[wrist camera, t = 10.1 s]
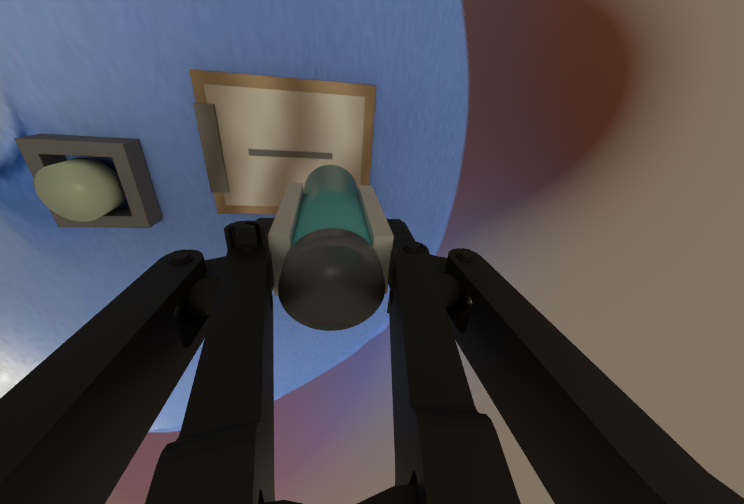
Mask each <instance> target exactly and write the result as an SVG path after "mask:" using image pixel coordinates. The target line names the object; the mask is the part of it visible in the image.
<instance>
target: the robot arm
mask: <svg viewBox="0 0 744 504" xmlns="http://www.w3.org/2000/svg"><path fill="white" fill-rule="evenodd" d="M358 195H359V198H360V202H361V206H362V209H363V213H364V216H365V220H366V224H367V227H368V231H369V234H370V238H371V242H372V245H373V248H374V249H375V251H376V253H377V255H378V258H379V261H380V264H381V268H382V271H383V274H384V278H385V293H387V288H388V284H389V287H390V294H389V302H388V309H387V313H389V316H390V339H391V340H390V342H391V366H392V367H391V368H392V394H393V420H394V447H395V486H393V487H391V488H389V489H387V490H385V491H383V492H380V493H378V494H376V495H375V496H372V497H370V498H368V499H366V500H364V501H362V502H360V503H357V504H521V503H520V500H519V498H518V495H517V492H516V489H515V486H514V483H513V480H512V477H511V474H510V471H509V468H508V465H507V462H506V459H505V456H504V453H503V450H502V447H501V444H500V441H499V438H498V435H497V433H496V430H495V427H494V425H493V423H492V421H491V419H490V418H489V417H488V416H487V415H486V414H481V413H479V412H478V411H477V410H476V407H475V405H474V402H473V398H472V395H471V392H470V388H469V385H468V382H467V378H466V375H465V372H464V368H463V365H462V361H461V358H460V355H459V351H458V348H457V345H456V342H457V343H458V345H459V346H460V348H461V350H462V352H463V353H464V355H465V356H466V358H467V360H468V361H469V363H470V365H471V366H472V368H473V370H474V371H475V373H476V375H477V376H478V378H479V379H480V381H481V383H482V384H483V386H484V388H485V389H486V391H487V393H488V394H489V396H490V398H491V399H492V401H493V403H494V404H495V406H496V408H497V409H498V411H499V412H500V414H501V416H502V417H503V419H504V420H505V422H506V424H507V426H508V427H509V429H510V431H511V432H512V434H513V435H514V437H515V439H516V440H517V442H518V444H519V445H520V447H521V449H522V450H523V452H524V454H525V455H526V457H527V459H528V460H529V462H530V463H531V465H532V467H533V468H534V470H535V471H536V473H537V475H538V477H539V478H540V480H541V482H542V483H543V485H544V487H545V488H546V490H547V492H548V493H549V495H550V496H551V498H552V500H553V501H554V503H555V504H744V498H742V497H741V496H739V495H738V494H737V493H735V492H734V491H733V490H731V489H730V488H728V487H727V486H726V485H724V484H723V483H722V482H720V481H719V480H718V479H716V478H715V477H713V476H712V475H711V474H709V473H708V472H707V471H706V470H705V469H703V467H701V466H700V465H699V464H698V463H697V462H696V461H695V460H694V459H693V458H692V457H691V456H690V455H689V454H688V453H687V452H686V451H685V450H684V449H683V448H681V446H680V445H678V444H677V443H676V442H675V441H674V440H673V439H672V438H671V437H670V436H669V435H668V434H667V433H666V432H665V431H664V430H663V429H662V428H661V427H660V426H659V425H658V424H656V423H655V422H654V421H653V420H652V419H651V418H650V417H649V416H648V415H647V414H646V413H645V412H644V411H643V410H642V409H641V408H639V406H638V405H637V404H635V403H634V402H633V401H632V400H631V399H630V398H629V397H628V396H627V395H626V394H625V393H624V392H623V391H622V390H621V389H620V388H619V387H618V386H617V385H615V384H614V383H613V382H612V381H611V380H610V379H609V378H608V377H607V376H606V375H605V374H604V373H603V372H602V371H601V370H600V369H599V368H598V367H597V366H596V365H595V364H594V363H592V362H591V361H590V360H589V359H588V358H587V357H586V356H585V355H584V354H583V353H582V352H581V351H580V350H579V349H578V348H577V347H576V346H575V345H574V344H572V343H571V342H570V341H569V340H568V339H567V338H566V337H565V336H564V335H563V334H562V333H561V332H560V331H559V330H558V329H557V328H556V327H555V326H554V325H553V324H552V323H550V322H549V321H548V320H547V319H546V318H545V317H544V316H543V315H542V314H541V313H540V312H539V311H538V310H537V309H536V308H535V307H534V306H533V305H532V304H531V303H529V302H528V301H527V300H526V299H525V298H524V297H523V296H522V295H521V294H520V293H519V292H518V291H517V290H516V289H515V288H514V287H513V286H512V285H511V284H509V282H507V281H506V280H505V279H504V278H503V277H502V276H501V275H500V274H499V273H498V272H497V271H496V270H495V269H494V268H493V267H492V266H491V265H489V263H488V262H487V261H485V260H484V259H483V258H482V257H481V256H480V255H478V254H477V253H475V252H473V251H471V250H469V249H464V248H462V249H452V250H451V251H449V254H448V258H444V257H438V256H434V255H430V254H429V250H428V248H427V247H426V246H425V245H423V244H422V243H419V242H416V241H415V240H414V238H413V236H412V234H411V233H410V231H409V229H408V227H407V225H406V224H405V223H404V222H402V221H401V220H399V219H386V217H385V215H384V213H383V210H382V208H381V206H380V203H379V201H378V199H377V197H376V194H375V192H374V190H373V187H372V185H359V187H358ZM302 197H303V183H289V184H288V186H287V189H286V191H285V194H284V196H283V199H282V201H281V204H280V206H279V209H278V211H277V214H276V216H275V218H259V219H257V220H256V221H239V222H235V223H231V224H229V225H227V226H226V227H225V228H224V233H225V238H226V243H227V248H228V251H227V255H226V256H224V257H220V258H215V259H209V260H204V257H203V254H202V253H201V252H199V251H197V250H179V251H174V252H172V253H170V254H167V255H165V256H164V257H162V258H160V259H159V260H158V261H157V262H156V263H155V264H154V265H152V266H151V267H150V268H149V269H148V270H147V271H146V272H144V273H143V274H142V275H141V276H140V277H139V278H138V279H136V280H135V281H134V282H133V283H132V284H131V285H130V286H128V287H127V288H126V289H125V290H124V291H123V292H122V293H120V294H119V295H118V296H117V297H116V298H115V299H114V300H112V301H111V302H110V303H109V304H108V305H107V306H106V307H104V308H103V309H102V310H101V311H100V312H99V313H98V314H96V315H95V316H94V317H93V318H92V319H91V320H90V321H88V322H87V323H86V324H85V325H84V326H83V327H82V328H80V329H79V330H78V331H77V332H76V333H75V334H74V335H72V336H71V337H70V338H69V339H68V340H67V341H66V342H64V343H63V344H62V345H61V346H60V347H59V348H58V349H56V350H55V351H54V352H53V353H52V354H51V355H50V356H48V357H47V358H46V359H45V360H44V361H43V362H42V363H40V364H39V365H38V366H37V367H36V368H35V369H34V370H32V371H31V372H30V373H29V374H28V375H27V376H26V377H24V378H23V379H22V380H21V381H20V382H19V383H18V384H16V385H15V386H14V387H13V388H12V389H11V390H10V391H8V392H7V393H6V394H5V395H4V396H3V397H2V398H0V504H105V503H106V501H107V499H108V497H109V496H110V494H111V492H112V491H113V489H114V487H115V486H116V484H117V483H118V481H119V479H120V478H121V476H122V474H123V473H124V471H125V469H126V468H127V466H128V464H129V463H130V461H131V459H132V457H133V456H134V454H135V453H136V451H137V449H138V448H139V446H140V444H141V443H142V441H143V439H144V438H145V436H146V434H147V433H148V431H149V429H150V428H151V426H152V425H153V423H154V421H155V420H156V418H157V416H158V415H159V413H160V411H161V410H162V408H163V406H164V405H165V403H166V401H167V400H168V398H169V396H170V395H171V393H172V391H173V390H174V388H175V386H176V385H177V383H178V381H179V380H180V378H181V376H182V375H183V373H184V371H185V370H186V368H187V366H188V365H189V363H190V361H191V360H192V358H193V356H194V355H195V353H196V351H197V350H198V348H199V346H200V345H201V343H202V342H203V340H204V338H205V340H204V343H203V347H202V351H201V355H200V359H199V363H198V367H197V370H196V374H195V378H194V382H193V386H192V390H191V393H190V397H189V401H188V405H187V409H186V413H185V417H184V420H183V424H182V428H181V431H180V434H179V437H178V439H177V440H176V441H175V442H172V443H169V444H167V445H166V447H165V448H164V449H163V451H162V453H161V455H160V458H159V460H158V463H157V465H156V469H155V472H154V476H153V479H152V482H151V485H150V489H149V492H148V495H147V499H146V502H145V504H302V503H296V502H292V501H287V500H280V501H275V493H274V379H273V298H272V290H273V287H274V293H275V296H279V295H278V283H279V279H280V275H281V271H282V267H283V263H284V260H285V257H286V255H287V252H288V251H289V249H290V248H291V244H292V240H293V236H294V231H295V227H296V223H297V219H298V214H299V210H300V206H301V201H302ZM471 300H472V303H471ZM455 340H456V341H455Z"/></svg>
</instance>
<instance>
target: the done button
mask: <svg viewBox="0 0 744 504" xmlns="http://www.w3.org/2000/svg"><path fill="white" fill-rule="evenodd" d="M34 187H35V191H36V193H37V195H38V197H39V198H40V199H41V201H42V202H43V203H44V204H45V205H46V206H47V207H48V208H49V209H50V210H52V211H53V212H55V213H56V214H58V215H60V216H62V217H64V218H67V219H69V220H73V221H79V222H88V221H93V220H96V219H98V218H99V217H101V216H103V215H105V214H106V213H108V212H110V211H112V210H113V209H115V208H117V207H118V206H120V205H121V204H122V202H123V201H124V198H125V193H124V190H123V187H122V184H121V182H120V179H119V176H118V175H117V174H116V173H115V172H114V171H113V170H112V169H111V168H109V167H108V166H106V165H105V164H103V163H101V162H99V161H97V160H94V159H90V158H83V157H81V158H74V159H70V160H67V161H63V162H60V163H56V164H52V165H49V166H46V167H43V168H41V169H40V170H39V171H38V172H37V173H36V175H35V178H34Z"/></svg>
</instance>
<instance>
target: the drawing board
mask: <svg viewBox="0 0 744 504" xmlns="http://www.w3.org/2000/svg"><path fill="white" fill-rule="evenodd" d="M189 70H190V75H191V80H192V85H193V90H194V95H195V100H196V103H193V104H194V109H195V114H196V119H197V124H198V129H199V134H200V139H201V144H202V149H203V154H204V158H205V163H206V168H207V173H208V178H209V183H210V188H211V192H214V196H215V201H216V206H217V211H218V213H229V214H277V211H278V209H279V206H280V204H281V201H282V199H283V196H284V194H285V191H286V189H287V186H288V184H289V183H303V189H304V185H305V181H306V179H307V177H308V176H309V174H310V173H311V172H312V171H313V170H315V169H316V168H318V167H320V166H323V165H337V166H340V167H342V168H344V169H346V170H347V171H348V172H349V173H350V174H351V175H352V176H353V178H354V179H355V181H356V184H357V188H358V187H359V185H369V182H370V168H371V154H372V139H373V125H374V111H375V96H376V85H365V84H353V83H341V82H330V81H318V80H307V79H295V78H283V77H272V76H260V75H249V74H237V73H225V72H214V71H202V70H191V69H189Z"/></svg>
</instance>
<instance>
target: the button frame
mask: <svg viewBox="0 0 744 504" xmlns="http://www.w3.org/2000/svg"><path fill="white" fill-rule="evenodd" d="M14 139H15V141H16V143H17V145H18V147H19V149H20V151H21V153H22V155H23V157H24V159H25V161H26V163H27V165H28V167H29V169H30V171H31V173H32V175H33V177H34V178H35V175H36V173H37V172H38V171H39V170H40V169H41V168H43V167H46V166H49V165H52V164H56V163H60V162H63V161H67V160H66V158H65V156H64V155H73V156H96V157H112V159H113V162H114V165H115V167H116V170H117V173H118V176H119V179H120V182H121V184H122V187H123V190H124V193H125V196H126V199H127V201H128V204H129V207H117V208H115V209H113V210H112V211H110V212H108V213H106V214H105V215H103V216H101V217H99V218H98V219H96V220H93V221H88V222H79V221H73V220H69V219H67V218H64V217H62V216H60V215H58V214H56V213H55V212H53V211H52V210H50V211H51V213H52V215H53V217H54V219H55V221H56V223H57V225H58V227H121V228H151V227H152V226H153V225H154V224H156V223H157V222H158V221H159V220H161V219H162V215H161V212H160V208H159V205H158V202H157V198H156V195H155V192H154V188H153V185H152V182H151V178H150V175H149V172H148V168H147V165H146V162H145V158H144V155H143V152H142V148H141V145H140V142H139V139H128V138H109V137H90V136H71V135H52V134H36V135H30V136H24V137H18V138H14Z"/></svg>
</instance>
